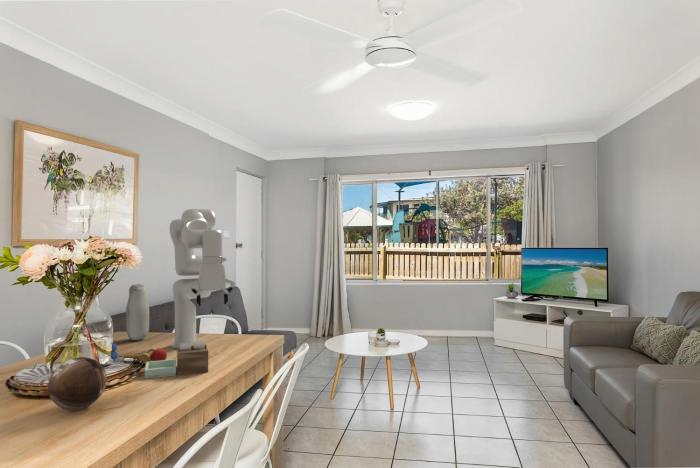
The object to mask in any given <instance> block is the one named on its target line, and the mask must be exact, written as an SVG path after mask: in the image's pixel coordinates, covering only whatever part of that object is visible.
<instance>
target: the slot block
mask: <svg viewBox="0 0 700 468" xmlns="http://www.w3.org/2000/svg"><path fill="white" fill-rule="evenodd" d="M207 347H208V345H207V343H205V349H202V350H193V345H191V351H180V346H177V348H176V376H182V375H190V374H191V375H192V374H200V373H209V349H208V348H207Z"/></svg>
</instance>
